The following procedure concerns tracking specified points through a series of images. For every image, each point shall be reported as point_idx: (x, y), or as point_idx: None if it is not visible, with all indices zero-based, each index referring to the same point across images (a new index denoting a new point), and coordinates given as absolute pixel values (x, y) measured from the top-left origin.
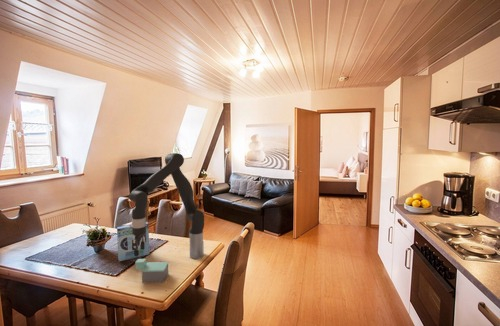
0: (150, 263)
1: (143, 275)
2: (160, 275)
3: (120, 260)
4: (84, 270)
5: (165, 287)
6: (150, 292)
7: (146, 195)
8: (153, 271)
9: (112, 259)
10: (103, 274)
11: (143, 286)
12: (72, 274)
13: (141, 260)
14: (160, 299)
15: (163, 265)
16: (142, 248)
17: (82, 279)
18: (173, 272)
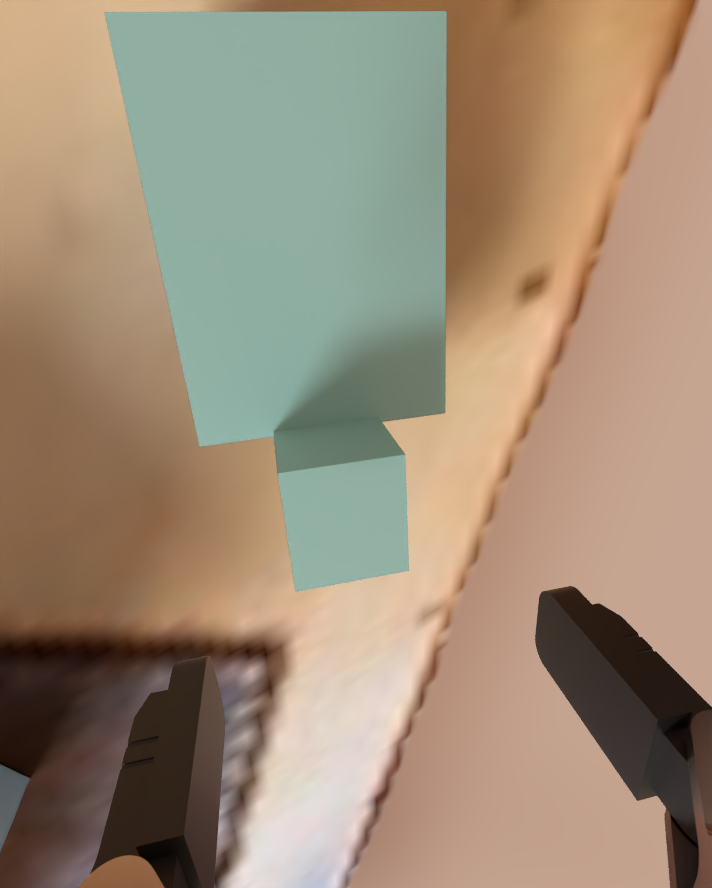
0: (230, 381)
1: None
2: None
3: (17, 781)
4: (232, 869)
5: (465, 35)
6: (541, 200)
7: None
8: (439, 227)
9: (11, 841)
10: (268, 741)
11: None
12: (291, 883)
13: (349, 514)
14: (671, 21)
15: (272, 87)
16: (215, 705)
17: (345, 802)
18: (91, 27)
